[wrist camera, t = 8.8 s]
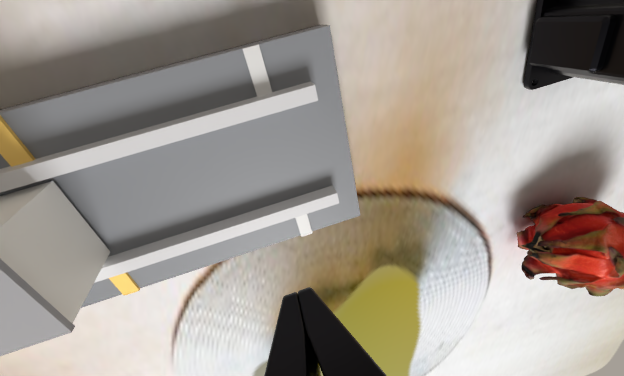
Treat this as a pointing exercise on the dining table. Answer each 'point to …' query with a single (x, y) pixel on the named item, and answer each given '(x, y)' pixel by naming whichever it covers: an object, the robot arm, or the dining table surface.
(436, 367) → the dining table surface
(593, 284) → the dragon fruit
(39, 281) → the fader knob
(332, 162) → the fader console
